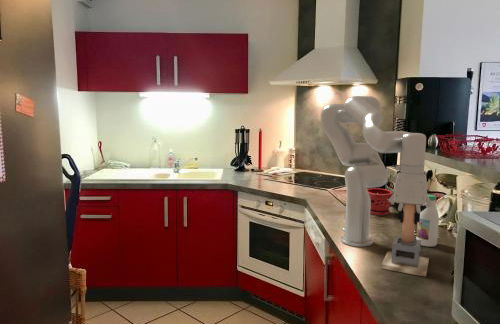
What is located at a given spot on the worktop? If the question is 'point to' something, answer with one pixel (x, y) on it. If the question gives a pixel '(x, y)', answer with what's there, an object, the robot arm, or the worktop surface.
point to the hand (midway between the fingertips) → (408, 222)
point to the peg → (408, 223)
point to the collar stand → (406, 258)
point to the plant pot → (379, 201)
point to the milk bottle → (428, 224)
